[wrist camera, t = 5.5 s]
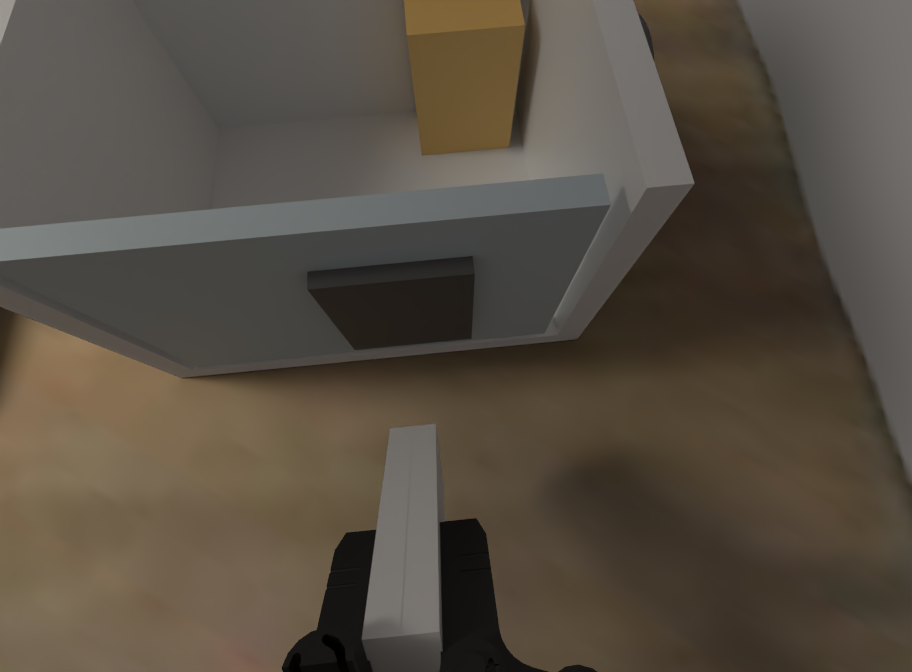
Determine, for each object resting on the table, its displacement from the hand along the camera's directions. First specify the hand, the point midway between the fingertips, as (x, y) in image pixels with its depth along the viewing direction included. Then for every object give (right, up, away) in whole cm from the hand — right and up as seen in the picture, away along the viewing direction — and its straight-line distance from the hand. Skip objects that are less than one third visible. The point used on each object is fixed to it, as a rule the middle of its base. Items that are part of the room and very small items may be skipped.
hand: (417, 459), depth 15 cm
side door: (-3, +4, +6) cm, 8 cm away
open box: (-3, +11, +10) cm, 15 cm away
